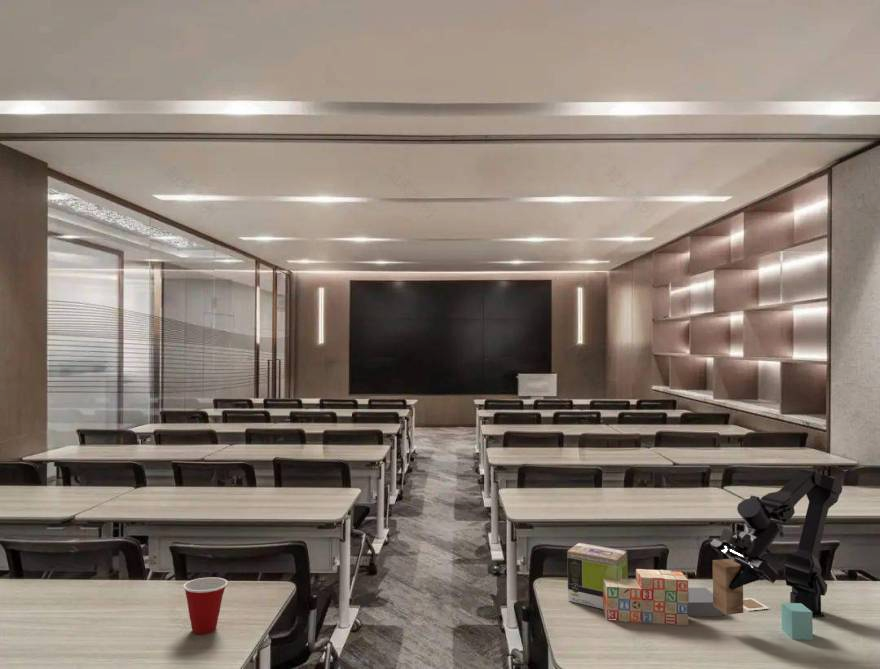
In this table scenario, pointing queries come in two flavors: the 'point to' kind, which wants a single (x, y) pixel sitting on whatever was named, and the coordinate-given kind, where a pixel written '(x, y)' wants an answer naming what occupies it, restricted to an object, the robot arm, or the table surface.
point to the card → (753, 605)
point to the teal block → (797, 621)
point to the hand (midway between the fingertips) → (723, 584)
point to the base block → (701, 603)
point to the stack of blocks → (648, 597)
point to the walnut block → (726, 587)
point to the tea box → (593, 572)
